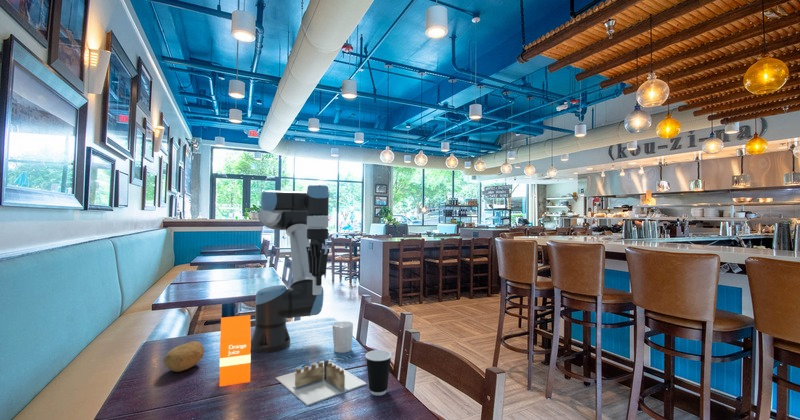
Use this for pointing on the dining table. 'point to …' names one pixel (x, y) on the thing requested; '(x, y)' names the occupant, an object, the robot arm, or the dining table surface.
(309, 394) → the card
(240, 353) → the orange juice
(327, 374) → the fixed fence panel
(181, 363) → the potato
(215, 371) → the dining table surface
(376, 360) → the dixie cup
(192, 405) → the dining table surface
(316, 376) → the beige crenellated panel
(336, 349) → the white cup
